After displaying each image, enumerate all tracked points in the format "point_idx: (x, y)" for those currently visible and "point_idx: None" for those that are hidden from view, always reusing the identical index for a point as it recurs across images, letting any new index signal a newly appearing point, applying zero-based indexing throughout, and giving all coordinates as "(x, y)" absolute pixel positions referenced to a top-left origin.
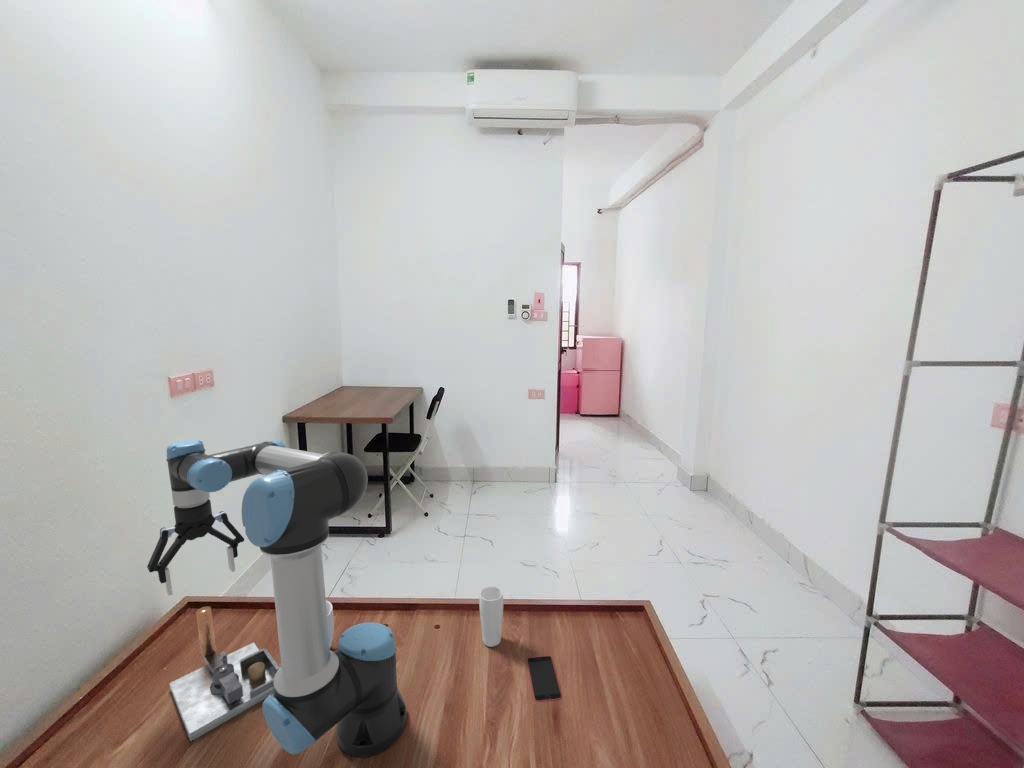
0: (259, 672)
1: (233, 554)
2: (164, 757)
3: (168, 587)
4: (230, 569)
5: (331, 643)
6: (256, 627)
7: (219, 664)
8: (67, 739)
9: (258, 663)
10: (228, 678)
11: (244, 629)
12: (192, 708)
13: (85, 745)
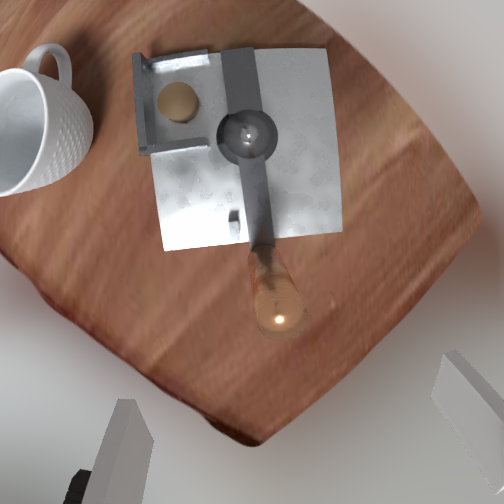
0: (174, 83)
1: (92, 493)
2: (358, 55)
3: (479, 376)
4: (143, 425)
5: (30, 120)
6: (155, 319)
7: (250, 187)
8: (458, 220)
9: (168, 112)
10: (242, 96)
11: (179, 329)
12: (315, 111)
13: (445, 185)
